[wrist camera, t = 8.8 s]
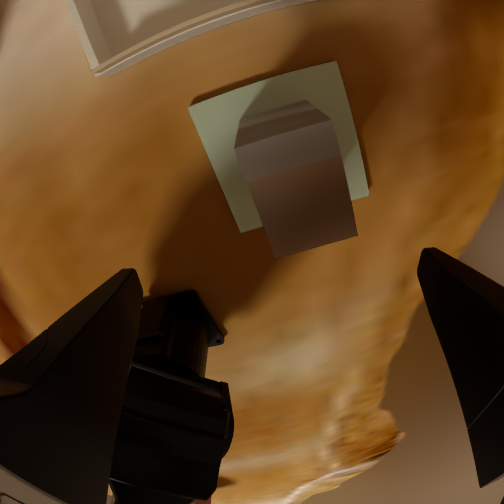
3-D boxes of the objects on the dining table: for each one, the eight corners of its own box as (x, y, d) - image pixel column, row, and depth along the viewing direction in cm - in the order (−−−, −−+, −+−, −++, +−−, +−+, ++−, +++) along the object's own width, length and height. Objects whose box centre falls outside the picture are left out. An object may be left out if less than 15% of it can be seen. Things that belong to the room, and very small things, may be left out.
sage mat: (366, 191, 21) (369, 195, 20) (241, 228, 22) (240, 233, 22) (334, 61, 16) (336, 61, 15) (189, 106, 18) (187, 107, 17)
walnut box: (329, 182, 20) (357, 235, 14) (268, 199, 20) (275, 258, 15) (305, 99, 17) (331, 119, 11) (239, 119, 18) (233, 149, 12)
